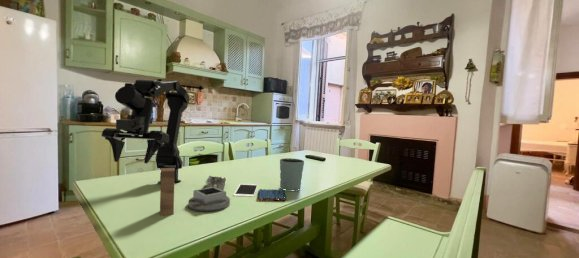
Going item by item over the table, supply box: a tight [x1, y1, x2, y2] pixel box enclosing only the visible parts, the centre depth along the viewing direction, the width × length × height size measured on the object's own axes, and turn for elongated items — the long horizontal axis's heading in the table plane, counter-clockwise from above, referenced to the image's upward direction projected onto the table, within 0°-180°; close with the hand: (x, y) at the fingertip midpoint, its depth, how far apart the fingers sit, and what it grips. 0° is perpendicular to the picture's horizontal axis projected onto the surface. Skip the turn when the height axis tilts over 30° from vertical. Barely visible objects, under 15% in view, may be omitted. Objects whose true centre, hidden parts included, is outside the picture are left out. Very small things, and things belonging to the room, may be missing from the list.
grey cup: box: [279, 157, 305, 191], centre depth 108 cm, size 10×10×12 cm
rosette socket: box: [187, 187, 231, 213], centre depth 84 cm, size 13×13×4 cm
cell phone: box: [232, 183, 259, 198], centre depth 103 cm, size 8×16×1 cm, turn 1°
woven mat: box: [256, 188, 287, 202], centre depth 96 cm, size 10×11×2 cm
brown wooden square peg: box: [159, 168, 175, 216], centre depth 76 cm, size 4×4×13 cm
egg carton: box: [205, 175, 227, 191], centre depth 105 cm, size 11×8×4 cm
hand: (130, 162), depth 80 cm, fingers open, 9 cm apart
